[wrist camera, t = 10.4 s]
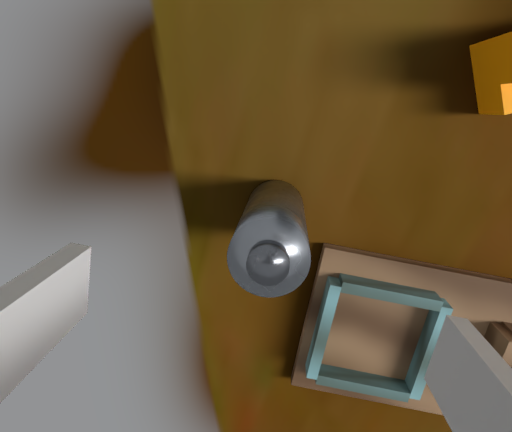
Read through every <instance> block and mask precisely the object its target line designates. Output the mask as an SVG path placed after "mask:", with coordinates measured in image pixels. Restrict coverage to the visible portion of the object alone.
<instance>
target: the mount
mask: <svg viewBox="0 0 512 432" xmlns="http://www.w3.org/2000/svg"><path fill="white" fill-rule="evenodd" d="M446 315H450V316H455V317H460V318H466V319H468V320H469V321H470V322H471V323H472V324H473V326H474V327H475V328H476V329H477V330H478V331H479V332H480V333H481V335H482V336H483V337H484V338H485V339H486V340H487V341H488V342H489V343H490V345H491V346H492V347H493V348H494V349H495V350H496V351H497V352H498V354H499V355H500V356H501V357H502V358H503V359H504V360H505V361H506V363H507V364H508V365H509V366H510V367H511V368H512V279H509V278H504V277H499V276H493V275H488V274H483V273H478V272H473V271H467V270H462V269H457V268H452V267H447V266H441V265H436V264H431V263H426V262H421V261H415V260H410V259H405V258H400V257H395V256H389V255H384V254H379V253H374V252H369V251H363V250H358V249H353V248H348V247H343V246H337V245H332V244H327V243H323V247H322V251H321V256H320V260H319V264H318V268H317V272H316V276H315V280H314V284H313V288H312V292H311V297H310V301H309V305H308V309H307V313H306V317H305V321H304V325H303V329H302V334H301V338H300V342H299V346H298V350H297V354H296V358H295V362H294V366H293V371H292V375H291V385H295V386H300V387H305V388H310V389H314V390H319V391H324V392H329V393H334V394H339V395H344V396H349V397H354V398H359V399H364V400H369V401H374V402H379V403H384V404H389V405H394V406H399V407H404V408H409V409H414V410H419V411H424V412H429V413H434V414H439V415H443V413H442V411H441V409H440V408H439V406H438V404H437V402H436V400H435V398H434V396H433V394H432V393H431V391H430V389H429V387H428V385H427V383H426V381H425V379H424V377H425V374H426V371H427V368H428V365H429V363H430V360H431V357H432V354H433V351H434V349H435V346H436V343H437V340H438V337H439V334H440V332H441V329H442V326H443V323H444V320H445V318H446Z"/></svg>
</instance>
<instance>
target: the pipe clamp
mask: <svg viewBox="0 0 512 432" xmlns="http://www.w3.org/2000/svg"><path fill="white" fill-rule="evenodd" d="M469 47H470V54H471V62H472V69H473V76H474V83H475V90H476V97H477V105H478V112H479V114H491V115H506V114H510V113H512V32H509V33H506V34H503V35H500V36H497V37H494V38H491V39H488V40H485V41H482V42H479V43H476V44H473V45H470V46H469Z"/></svg>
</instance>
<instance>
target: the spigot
mask: <svg viewBox="0 0 512 432" xmlns="http://www.w3.org/2000/svg"><path fill="white" fill-rule="evenodd" d="M227 263H228V267H229V270H230V273H231V275H232V277H233V278H234V280H235V281H236V282H237V283H238V284H239V285H240V286H241V287H242V288H243V289H245V290H246V291H248V292H250V293H252V294H254V295H257V296H261V297H278V296H283V295H285V294H288V293H290V292H292V291H293V290H295V289H296V288H297V287H299V286H300V285H301V284H302V282H303V281H304V280H305V278H306V277H307V274H308V272H309V269H310V264H311V254H310V247H309V241H308V234H307V227H306V220H305V214H304V207H303V201H302V197H301V195H300V193H299V192H298V191H297V189H296V188H295V187H294V186H292V185H291V184H289V183H287V182H285V181H281V180H270V181H266V182H264V183H262V184H260V185H259V186H258V187H256V188H255V190H254V191H253V192H252V194H251V196H250V198H249V200H248V203H247V205H246V207H245V210H244V212H243V214H242V217H241V219H240V221H239V223H238V226H237V228H236V230H235V233H234V235H233V237H232V240H231V242H230V244H229V247H228V252H227Z"/></svg>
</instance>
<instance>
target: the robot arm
mask: <svg viewBox="0 0 512 432" xmlns="http://www.w3.org/2000/svg"><path fill="white" fill-rule="evenodd" d="M90 260H91V246H85V245H80V244H75V243H70V244H68V245H67V246H65V247H63V248H62V249H60V250H59V251H57V252H55V253H54V254H52V255H51V256H49V257H47V258H46V259H44V260H43V261H41V262H39V263H38V264H36V265H35V266H33V267H31V268H30V269H28V270H27V271H25V272H24V273H22V274H21V275H19V276H17V277H15V278H14V279H12V280H11V281H9V282H7V283H6V284H4V285H3V286H1V287H0V403H1V402H2V401H3V400H4V399H5V398H6V397H7V396H8V394H10V392H11V391H12V390H13V389H14V388H15V387H16V386H17V385H18V384H19V383H20V382H21V381H22V380H23V379H24V378H25V377H26V376H27V375H28V374H29V373H30V371H32V370H33V369H34V367H35V366H36V365H37V364H38V363H39V362H40V361H41V360H42V359H43V358H44V357H45V356H46V355H47V354H48V353H49V352H50V351H51V350H52V349H53V348H54V347H55V346H56V345H57V344H58V343H59V341H61V340H62V338H63V337H64V336H65V335H66V334H67V333H68V332H69V331H70V330H71V329H72V328H73V327H74V326H75V325H76V324H77V323H78V322H79V321H80V320H81V319H82V318H83V316H85V315H86V313H87V307H88V292H89V276H90ZM424 379H425V381H426V383H427V385H428V387H429V389H430V391H431V393H432V394H433V396H434V398H435V400H436V402H437V404H438V406H439V408H440V409H441V411H442V413H443V415H444V417H445V419H446V421H447V423H448V424H449V426H450V428H451V430H452V432H512V368H511V367H510V366H509V365H508V364H507V363H506V361H505V360H504V359H503V358H502V357H501V356H500V355H499V354H498V352H497V351H496V350H495V349H494V348H493V347H492V346H491V345H490V343H489V342H488V341H487V340H486V339H485V338H484V337H483V336H482V335H481V333H480V332H479V331H478V330H477V329H476V328H475V327H474V326H473V324H472V323H471V322H470V321H469V320H468V319H466V318H460V317H455V316H450V315H446V318H445V320H444V323H443V326H442V329H441V332H440V334H439V337H438V340H437V343H436V346H435V349H434V351H433V354H432V357H431V360H430V363H429V365H428V368H427V371H426V374H425V377H424Z"/></svg>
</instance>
